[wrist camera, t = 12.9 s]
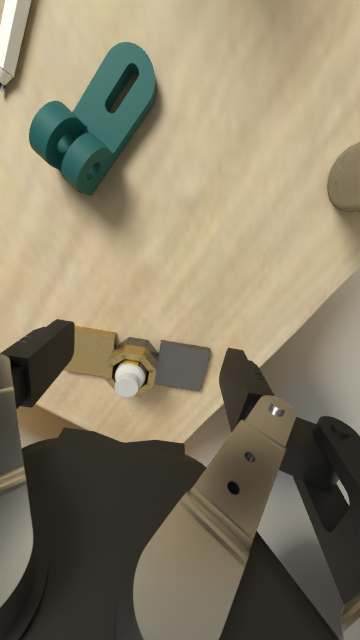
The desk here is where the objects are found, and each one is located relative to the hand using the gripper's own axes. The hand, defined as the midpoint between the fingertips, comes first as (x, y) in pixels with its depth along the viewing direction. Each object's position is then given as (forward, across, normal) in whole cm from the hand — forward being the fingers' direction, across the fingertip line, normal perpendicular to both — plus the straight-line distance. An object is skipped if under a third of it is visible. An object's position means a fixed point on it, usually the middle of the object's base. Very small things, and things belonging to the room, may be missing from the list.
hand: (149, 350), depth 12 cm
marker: (+31, +24, -26) cm, 47 cm away
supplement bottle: (+30, +4, +20) cm, 36 cm away
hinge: (+30, +4, +20) cm, 36 cm away
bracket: (+30, +12, -18) cm, 37 cm away
